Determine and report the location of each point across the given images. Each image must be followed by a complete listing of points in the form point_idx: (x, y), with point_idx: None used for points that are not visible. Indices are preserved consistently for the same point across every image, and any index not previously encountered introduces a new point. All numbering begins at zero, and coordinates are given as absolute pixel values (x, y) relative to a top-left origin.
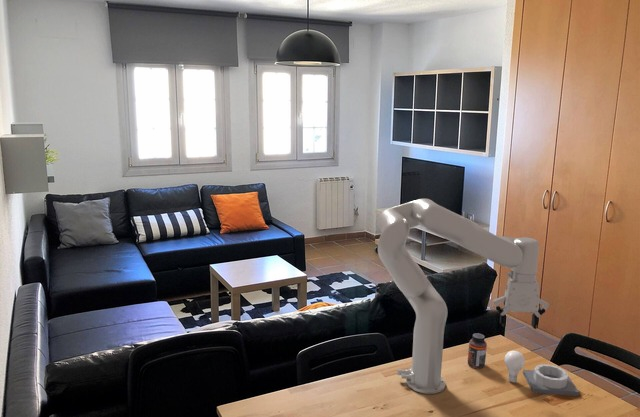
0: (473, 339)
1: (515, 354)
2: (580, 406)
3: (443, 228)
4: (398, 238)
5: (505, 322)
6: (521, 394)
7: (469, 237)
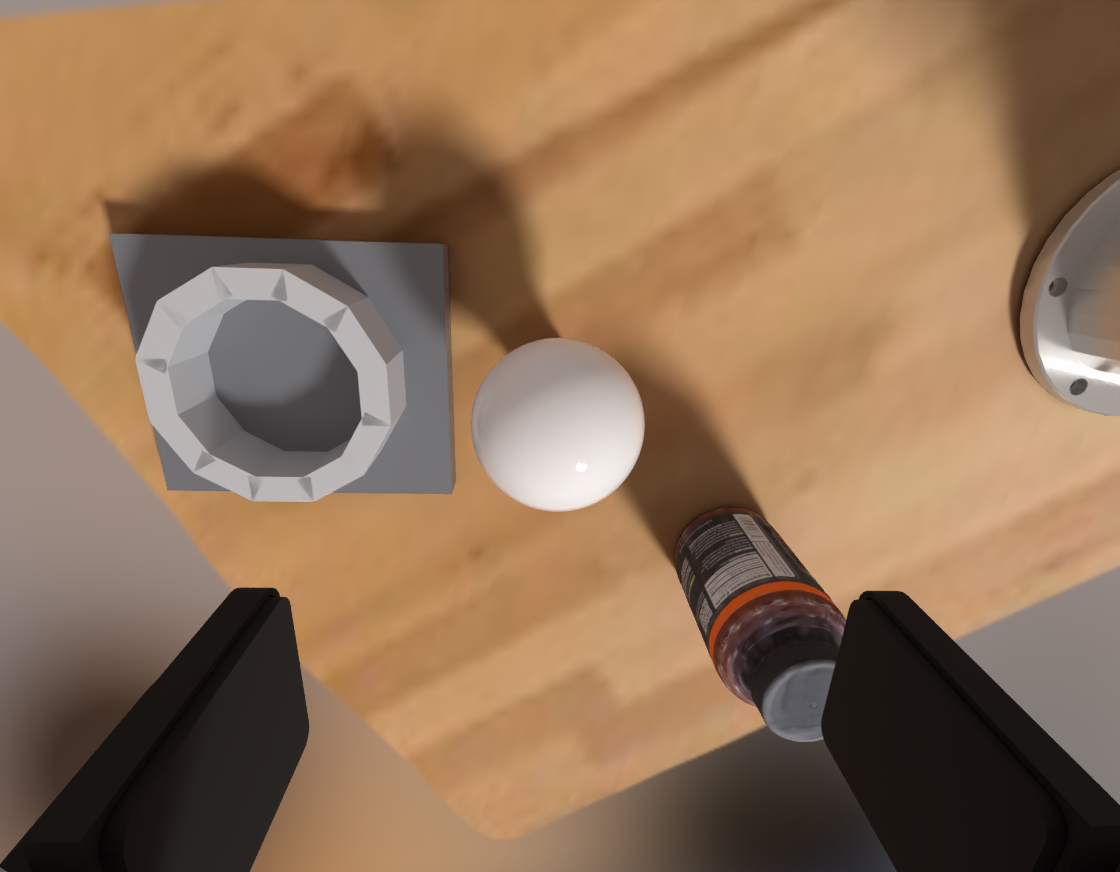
0: None
1: (571, 413)
2: (139, 82)
3: None
4: None
5: (925, 666)
6: (534, 214)
7: None
